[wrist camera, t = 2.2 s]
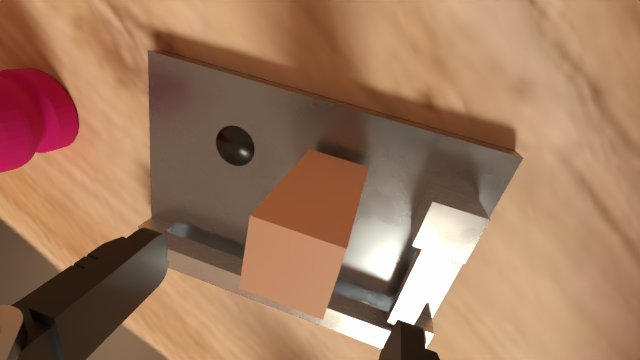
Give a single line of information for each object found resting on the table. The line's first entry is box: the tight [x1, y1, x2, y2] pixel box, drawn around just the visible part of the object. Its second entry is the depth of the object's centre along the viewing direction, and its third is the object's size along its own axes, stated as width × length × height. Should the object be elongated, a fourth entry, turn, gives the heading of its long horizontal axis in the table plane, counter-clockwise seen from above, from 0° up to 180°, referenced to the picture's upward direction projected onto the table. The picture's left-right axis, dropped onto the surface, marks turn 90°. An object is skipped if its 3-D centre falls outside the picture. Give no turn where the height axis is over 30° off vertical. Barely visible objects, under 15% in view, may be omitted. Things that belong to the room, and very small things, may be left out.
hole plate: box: [138, 50, 523, 349], centre depth 21 cm, size 23×16×4 cm
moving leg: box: [239, 149, 369, 320], centre depth 17 cm, size 4×10×9 cm, turn 167°
